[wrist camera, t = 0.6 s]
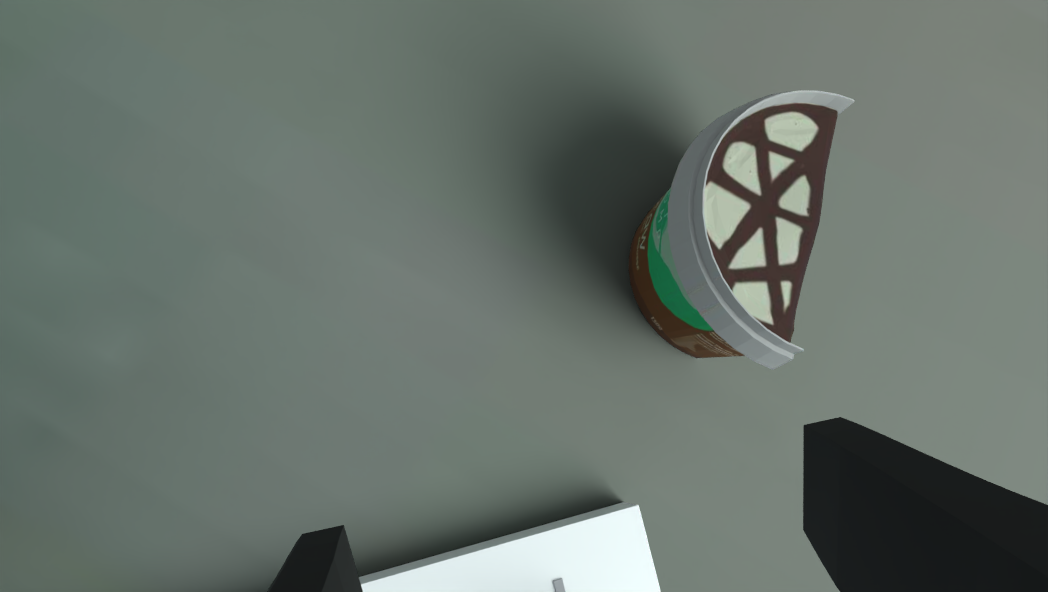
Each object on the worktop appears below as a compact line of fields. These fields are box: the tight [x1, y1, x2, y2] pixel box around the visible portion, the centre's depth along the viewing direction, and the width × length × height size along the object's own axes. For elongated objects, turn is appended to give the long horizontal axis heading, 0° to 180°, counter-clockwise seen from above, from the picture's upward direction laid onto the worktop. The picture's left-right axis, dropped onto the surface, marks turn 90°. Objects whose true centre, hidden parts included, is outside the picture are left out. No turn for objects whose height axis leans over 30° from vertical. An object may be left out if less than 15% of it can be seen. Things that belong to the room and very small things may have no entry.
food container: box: [629, 91, 855, 370], centre depth 35 cm, size 12×6×10 cm, turn 163°
